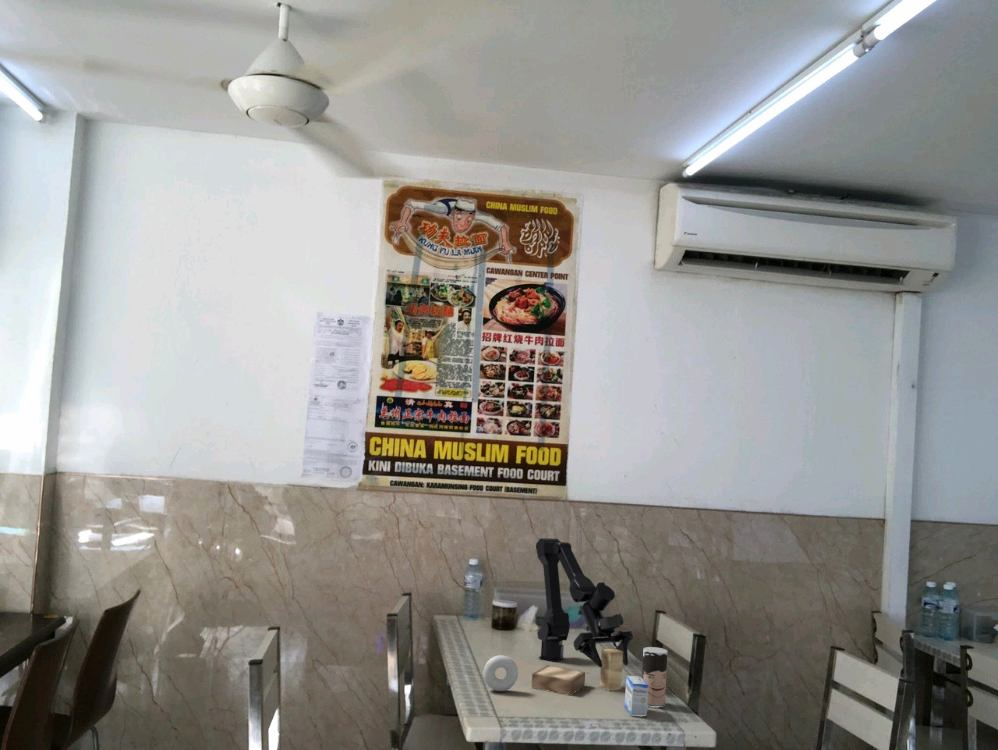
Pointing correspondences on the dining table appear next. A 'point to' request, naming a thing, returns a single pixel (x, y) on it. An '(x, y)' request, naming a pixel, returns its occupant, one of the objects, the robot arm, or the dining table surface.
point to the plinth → (558, 679)
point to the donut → (507, 680)
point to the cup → (655, 674)
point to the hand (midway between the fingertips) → (614, 665)
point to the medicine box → (636, 695)
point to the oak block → (611, 668)
